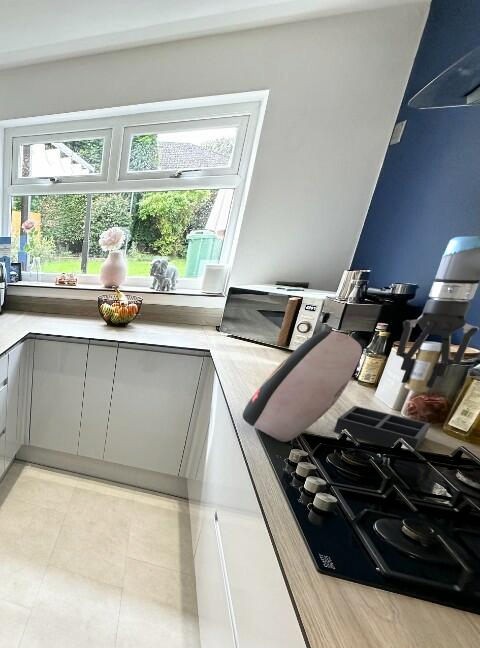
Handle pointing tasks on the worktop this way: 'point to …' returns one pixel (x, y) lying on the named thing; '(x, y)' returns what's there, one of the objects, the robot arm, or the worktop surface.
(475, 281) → the robot arm
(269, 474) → the worktop surface
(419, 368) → the sprinkles bottle
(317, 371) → the pinkish grey rounded block
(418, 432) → the grid
